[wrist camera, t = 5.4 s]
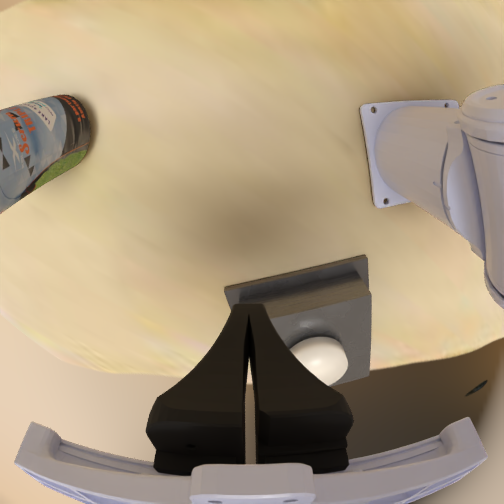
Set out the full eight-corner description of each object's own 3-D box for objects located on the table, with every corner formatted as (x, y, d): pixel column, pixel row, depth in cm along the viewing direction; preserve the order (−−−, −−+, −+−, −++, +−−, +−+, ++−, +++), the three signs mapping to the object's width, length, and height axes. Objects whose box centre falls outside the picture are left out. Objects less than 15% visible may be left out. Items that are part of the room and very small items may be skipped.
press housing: (365, 254, 23) (383, 279, 19) (366, 351, 28) (377, 378, 24) (224, 287, 24) (221, 317, 20) (257, 376, 29) (259, 406, 26)
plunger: (331, 302, 24) (347, 342, 20) (335, 342, 26) (348, 381, 22) (275, 315, 25) (280, 357, 20) (285, 354, 27) (290, 394, 22)
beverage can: (112, 113, 17) (-7, 129, 7) (74, 194, 20) (-27, 264, 9) (58, 83, 16) (-58, 87, 5) (27, 160, 18) (-76, 207, 8)
